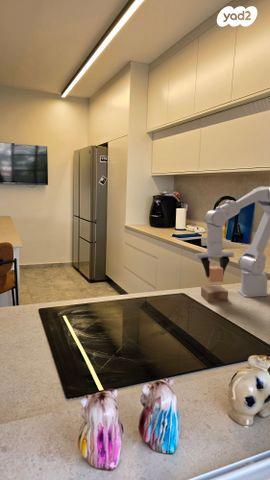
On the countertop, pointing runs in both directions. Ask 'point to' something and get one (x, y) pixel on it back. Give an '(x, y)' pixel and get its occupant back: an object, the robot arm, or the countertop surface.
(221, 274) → the terracotta cube
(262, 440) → the countertop surface
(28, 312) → the countertop surface
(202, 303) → the countertop surface
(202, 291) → the walnut block
